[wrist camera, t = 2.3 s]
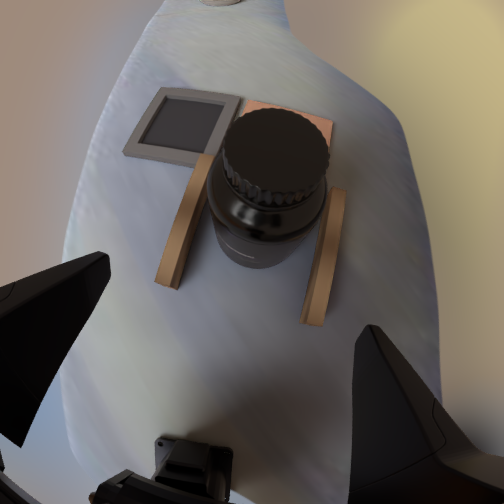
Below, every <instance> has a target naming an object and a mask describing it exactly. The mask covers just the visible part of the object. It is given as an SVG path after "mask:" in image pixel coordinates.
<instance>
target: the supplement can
mask: <svg viewBox="0 0 504 504" xmlns="http://www.w3.org/2000/svg"><path fill="white" fill-rule="evenodd" d="M199 1H201V2H203V3H204V4H205V5H210V6H226V5H232V4H235V3H237V2H239V1H240V0H199Z"/></svg>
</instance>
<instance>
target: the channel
mask: <svg viewBox="0 0 504 504" xmlns="http://www.w3.org/2000/svg"><path fill="white" fill-rule="evenodd" d="M214 160H215V157H214V156H212V155H208V154H202V153H201V154H200V156H199V159H198V161H197V163H196V166H195V168H194V171H193V173H192V176H191V178H190V181H189V183H188V186H187V188H186V191H185V193H184V196H183V199H182V201H181V204H180V207H179V209H178V212H177V215H176V218H175V220H174V223H173V226H172V229H171V232H170V235H169V238H168V240H167V243H166V246H165V249H164V252H163V256H162V259H161V262H160V265H159V268H158V271H157V275H156V278H155V281H154V282H156V283H158V284H160V285H162V286H165V287H168V288H172V289H175V290H177V289H178V285H179V282H180V278H181V275H182V272H183V268H184V265H185V262H186V259H187V256H188V252H189V249H190V246H191V243H192V240H193V237H194V234H195V231H196V228H197V225H198V222H199V219H200V216H201V213H202V210H203V207H204V204H205V201H206V199H207V178H208V173H209V170H210V167H211V165H212V163H213V161H214ZM345 199H346V190H343V189H340V188H336V187H332V189H331V190H330V192H329V193H328V195H327V202H326V206H325V209H324V211H323V213H322V217H321V223H320V228H319V234H318V239H317V244H316V249H315V254H314V259H313V264H312V269H311V273H310V278H309V282H308V287H307V291H306V296H305V300H304V305H303V309H302V313H301V317H300V321H299V323H302V324H307V325H311V326H321V327H322V326H323V321H324V317H325V313H326V308H327V304H328V299H329V294H330V289H331V284H332V279H333V274H334V269H335V263H336V258H337V252H338V246H339V240H340V234H341V228H342V221H343V214H344V207H345Z"/></svg>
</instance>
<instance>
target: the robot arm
mask: <svg viewBox="0 0 504 504" xmlns="http://www.w3.org/2000/svg"><path fill="white" fill-rule="evenodd" d="M110 277H111V269H110V258H109V255H108V254H106V253H103V252H100V251H97V252H94V253H91V254H88V255H85V256H83V257H80V258H77V259H74V260H71V261H68V262H65V263H63V264H60V265H57V266H54V267H52V268H49V269H46V270H44V271H41V272H38V273H36V274H33V275H30V276H28V277H25V278H23V279H20V280H18V281H16V282H12V283H10V284H7V285H5V286H3V287H0V433H1V434H2V435H4V436H5V437H6V438H7V439H9V440H10V441H11V442H13V443H14V444H16V445H17V446H19V447H20V448H21V447H22V445H23V443H24V441H25V438H26V436H27V433H28V431H29V429H30V426H31V424H32V422H33V420H34V417H35V415H36V413H37V411H38V409H39V407H40V404H41V402H42V400H43V398H44V396H45V394H46V392H47V390H48V388H49V386H50V384H51V383H52V381H53V379H54V377H55V375H56V373H57V371H58V369H59V368H60V366H61V364H62V362H63V360H64V359H65V357H66V355H67V353H68V352H69V350H70V348H71V347H72V345H73V343H74V341H75V340H76V338H77V336H78V335H79V333H80V332H81V330H82V328H83V327H84V325H85V323H86V322H87V320H88V319H89V317H90V315H91V314H92V312H93V310H94V308H95V307H96V305H97V303H98V301H99V299H100V297H101V295H102V293H103V291H104V289H105V287H106V286H107V284H108V282H109V280H110ZM352 407H353V420H352V456H351V474H350V486H349V496H348V504H504V457H500V456H496V455H491V454H487V453H485V452H482V451H481V450H479V449H478V448H476V446H475V445H474V444H473V443H472V442H471V441H470V439H469V438H468V437H467V436H466V435H465V434H464V432H463V431H462V430H461V429H460V428H459V427H458V425H457V424H456V423H455V422H454V421H453V419H452V418H451V417H450V416H449V415H448V413H447V412H446V411H445V409H444V408H443V407H442V405H441V404H440V403H439V401H438V400H437V399H436V398H434V395H433V393H432V392H431V391H430V389H429V388H428V387H427V386H426V384H425V383H424V382H423V380H422V379H421V378H420V376H419V375H418V374H417V373H416V371H415V370H414V369H413V368H412V366H411V365H410V364H409V363H408V361H407V360H406V359H405V358H404V356H403V355H402V354H401V353H400V351H399V350H398V349H397V348H396V346H395V345H394V344H393V343H392V341H391V340H390V339H389V338H388V337H387V335H386V334H385V333H384V332H383V331H382V329H381V328H380V327H379V326H376V325H371V324H368V325H367V326H366V327H365V328H364V330H363V331H362V333H361V334H360V336H359V337H358V339H357V340H356V343H355V351H354V367H353V380H352ZM159 442H162V443H163V445H161V444H160V443H159ZM224 452H229V453H230V454H225V453H224ZM232 459H233V451H232V449H230V448H228V447H218V446H209V445H208V444H206V443H198V442H191V441H185V440H177V441H176V440H170V439H165V438H157V440H156V441H155V464H156V471H155V473H154V475H153V476H152V478H151V480H150V479H147V478H145V477H142V476H140V475H138V474H135V473H134V472H132V471H130V470H128V469H126V470H124V471H123V472H121V473H119V474H117V475H115V476H114V477H112V478H110V479H108V480H107V481H105V482H103V483H101V484H100V485H99V486H98V488H97V491H96V492H92V493H91V494H90V495H89V501H90V503H91V504H234V503H229V502H228V501H229V497H230V484H231V472H232ZM4 469H5V467H4V463H3V459H2V455H1V451H0V504H41V503H40V502H38V501H37V500H36V499H34V498H33V497H32V496H30V495H29V494H28V493H26V492H25V491H24V490H23V489H21V488H20V487H19V486H18V485H17V484H15V483H14V482H13V481H12V480H11V479H9V478H8V477H7V476H6V475H5V474H4V473H3V471H4ZM225 498H226V499H225Z"/></svg>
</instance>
